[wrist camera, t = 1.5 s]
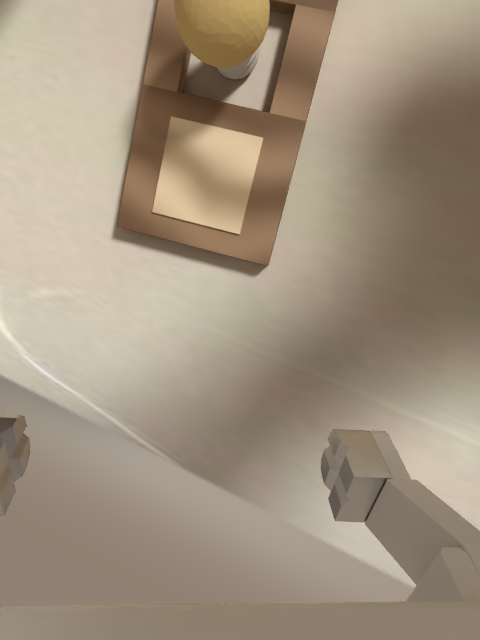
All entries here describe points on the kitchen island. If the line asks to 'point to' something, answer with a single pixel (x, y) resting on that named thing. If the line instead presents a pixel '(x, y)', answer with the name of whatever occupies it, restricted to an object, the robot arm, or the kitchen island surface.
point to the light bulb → (224, 32)
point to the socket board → (220, 143)
